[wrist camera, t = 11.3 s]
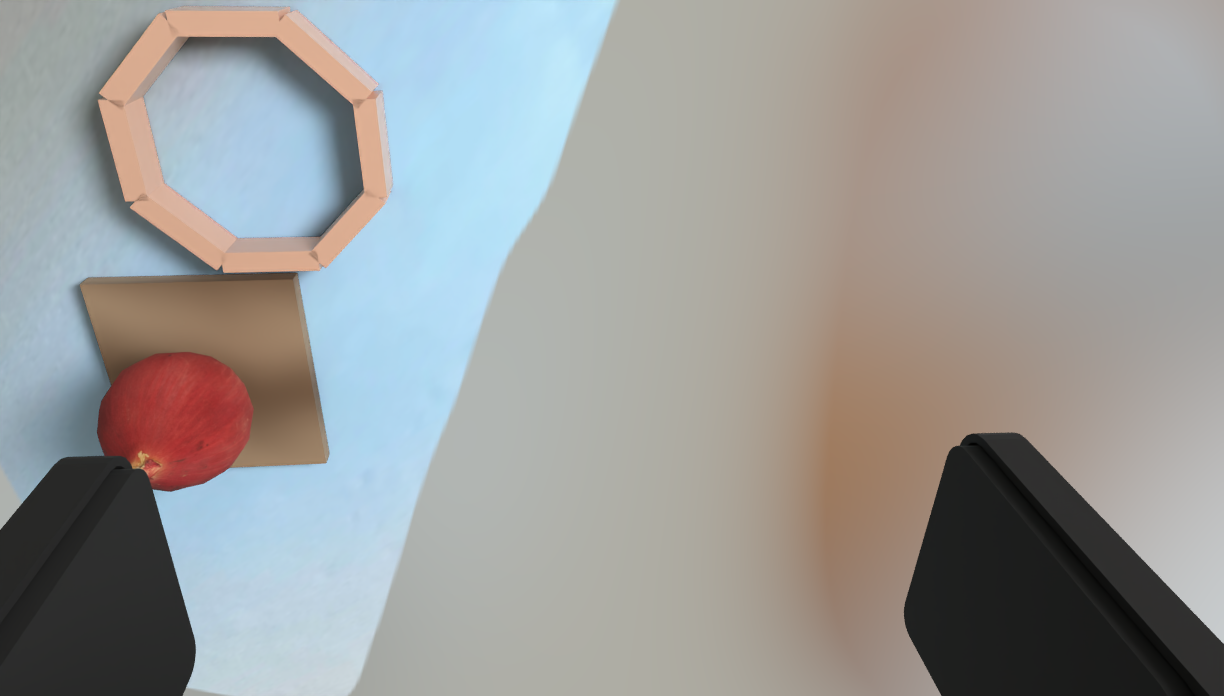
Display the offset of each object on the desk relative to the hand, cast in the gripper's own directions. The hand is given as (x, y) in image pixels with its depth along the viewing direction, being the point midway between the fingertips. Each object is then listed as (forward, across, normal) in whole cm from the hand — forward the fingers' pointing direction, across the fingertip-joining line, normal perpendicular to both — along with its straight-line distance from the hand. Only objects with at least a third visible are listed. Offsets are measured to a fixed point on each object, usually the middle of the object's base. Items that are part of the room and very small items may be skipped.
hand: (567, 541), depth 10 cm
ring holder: (+28, +11, +2) cm, 30 cm away
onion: (+27, +15, +13) cm, 34 cm away
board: (+28, +15, +13) cm, 34 cm away
